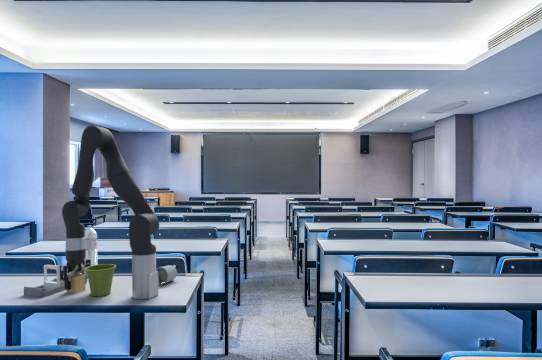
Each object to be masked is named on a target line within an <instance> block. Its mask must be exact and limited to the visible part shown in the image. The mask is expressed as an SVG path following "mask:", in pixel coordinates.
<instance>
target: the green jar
mask: <svg viewBox="0 0 542 360" xmlns="http://www.w3.org/2000/svg"><path fill="white" fill-rule="evenodd" d="M49 281H51V282H57V277H55V278H53V279H50V280H49ZM62 285H65V281H63V280H60V286H62Z"/></svg>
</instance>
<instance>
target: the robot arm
mask: <svg viewBox="0 0 542 360" xmlns="http://www.w3.org/2000/svg"><path fill="white" fill-rule="evenodd" d="M96 150H99V152H100V153H101V155H102V157H103V159H104V161H105V163H106V177H107V180H108V182H109V184H110V186H111V188H112V190H113V192H114V194H116V195H117V196H118V197H119V198H120V200H122V201H123V202H124V204H126V205H127V206H129V208H130V209H131V210H132V213H133V214H134V216H132V217H131V219H130V221H129V226H128V236H129V246H130V249H131V285H132V286H131V287H132V289H131V290H132V291H131V292H132V293H131V297H132V298H133V299H135V300H147V299H148V300H150V299H153V298H155V297H156V296H158V295H159V292H160V291H159V284H158V271H156V269H157V247H156V245H155V244H153V243H152V241H151V236H153V235H155V234H157V232H159V228H160V221H159V219H158V216H157V214H156V213H155V212H154V210H153V209H152V207H151V206H150V205H149V203H148V202H147V200H146V199H145V196H144V195H143V193H142V191H141V189H140V187H139V185H138V183H137V182H136V180H135V178H134V176H133V173H132V172H131V170H130V169H129V167H128V165H127V163H126V161H125V160H124V158H123V156H122V154H121V152H120V150H119V147H118V144H117V142H116V140H115V137H114V135H113V133H112V132H111V131H110V130H109V129H107V128H105V127H102V126H99V125H95V124H94V125H93V124H91V125H88V126H86V127H85V128H84V130H83V131H82V135H81V140H80V148H79V156H78V164H77V165H78V166H77V170H76V174H75V177H74V180H73V183H72V187H71V193H72V194H73V195H74V200H69V201H65V203H64V204H63V206H62V209H61V213H62V214H61V215H62V219H63V222H64V225H65V235H66V236H65V261H66V264H65V265H59V266H60V280H63V281H65V289H66V290H71V281H70V280H71V278H72V276H73V275H74V274H75V273H77V272H82V274H85V286H86V285H87V280H88V277H87V272H86V270H85V268H86V267H89V266H91V260H89V259H85V258H86V241H85V230H86V227H85V224H84V223H83V222H81V221H80V218H81V217H84V216H86V214H87V213H88V212H89V208H90V199H91V198H90V197H91V196H90V194H91V191H92V188H93V184H94V179H95V169H94V156H95V154H96ZM84 259H85V260H84ZM68 276H69V277H68ZM66 290H65V291H66Z"/></svg>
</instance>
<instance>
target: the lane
mask: <svg viewBox="0 0 542 360" xmlns="http://www.w3.org/2000/svg"><path fill="white" fill-rule="evenodd" d="M64 291H66V289H65V285H62V286H59V287H56V288H53V289H50V290H45V289H44V284H42V285H38V286H34V287H33V286H23V296H25V297H33V298H34V297H35V298H42V299H43V298H46V297H49V296H52V295H55V294H58V293H60V292H64Z"/></svg>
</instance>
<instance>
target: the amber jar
mask: <svg viewBox="0 0 542 360" xmlns="http://www.w3.org/2000/svg"><path fill="white" fill-rule="evenodd" d="M68 277H69V276H68ZM70 281H71V290H65V291H66V292H65V293H70V294H71V293H72V294H77V293H80V292H83V291H86V285H85V274H82V272H77V273H75V274H74V275H73V276H72V278H71V280H70Z"/></svg>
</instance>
